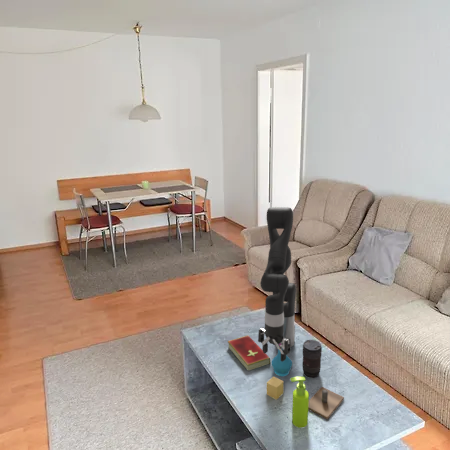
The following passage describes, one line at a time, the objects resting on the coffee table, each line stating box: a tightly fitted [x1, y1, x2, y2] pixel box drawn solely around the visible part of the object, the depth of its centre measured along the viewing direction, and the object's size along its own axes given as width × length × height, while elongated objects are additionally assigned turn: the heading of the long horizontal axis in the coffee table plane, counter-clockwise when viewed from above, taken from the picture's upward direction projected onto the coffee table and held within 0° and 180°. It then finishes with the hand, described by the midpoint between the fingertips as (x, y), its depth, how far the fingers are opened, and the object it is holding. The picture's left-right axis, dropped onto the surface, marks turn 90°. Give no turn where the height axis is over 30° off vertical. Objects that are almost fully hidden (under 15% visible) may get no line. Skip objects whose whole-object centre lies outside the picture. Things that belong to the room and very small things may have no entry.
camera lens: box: [302, 339, 323, 379], centre depth 179 cm, size 8×8×15 cm
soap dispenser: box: [290, 375, 310, 429], centre depth 152 cm, size 6×7×20 cm
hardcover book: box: [227, 334, 271, 372], centre depth 195 cm, size 12×21×4 cm, turn 25°
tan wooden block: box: [266, 376, 285, 401], centre depth 169 cm, size 5×5×6 cm
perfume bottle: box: [271, 343, 293, 377], centre depth 181 cm, size 9×9×15 cm
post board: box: [308, 386, 345, 420], centre depth 163 cm, size 14×10×6 cm
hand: (274, 356), depth 164 cm, fingers open, 8 cm apart
